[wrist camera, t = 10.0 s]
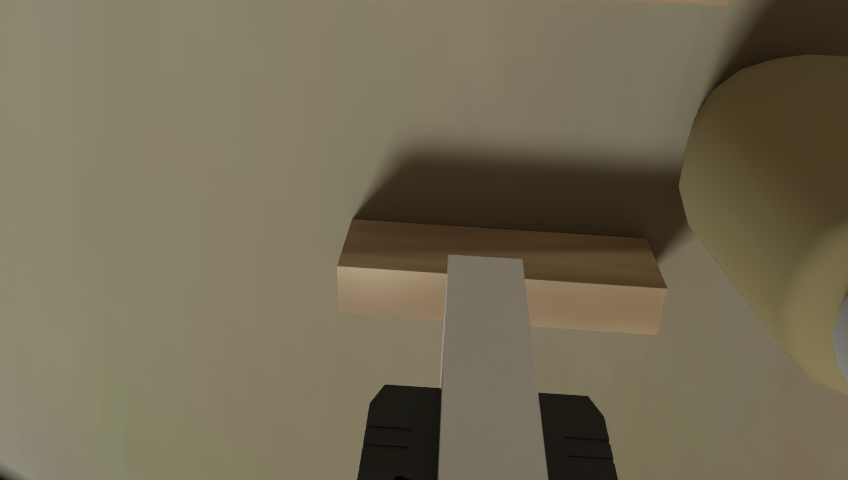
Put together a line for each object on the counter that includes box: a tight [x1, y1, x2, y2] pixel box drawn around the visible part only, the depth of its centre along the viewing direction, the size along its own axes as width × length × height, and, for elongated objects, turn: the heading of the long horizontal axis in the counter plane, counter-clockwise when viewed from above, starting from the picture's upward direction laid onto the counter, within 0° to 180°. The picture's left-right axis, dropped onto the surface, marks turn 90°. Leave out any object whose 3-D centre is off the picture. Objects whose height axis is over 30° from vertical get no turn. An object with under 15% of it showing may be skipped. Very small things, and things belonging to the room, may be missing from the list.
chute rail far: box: [337, 219, 667, 335], centre depth 32 cm, size 2×12×4 cm, turn 87°
